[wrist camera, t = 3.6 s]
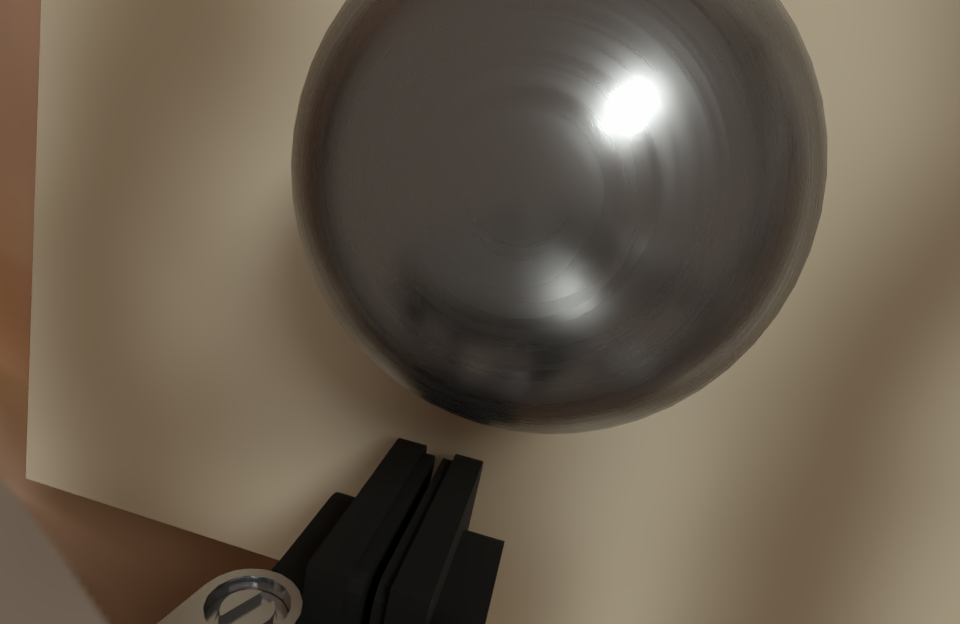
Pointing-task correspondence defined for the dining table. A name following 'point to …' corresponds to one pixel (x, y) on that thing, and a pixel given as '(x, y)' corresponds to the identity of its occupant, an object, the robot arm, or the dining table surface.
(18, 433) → the dining table surface
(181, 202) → the runway board
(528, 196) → the ball
